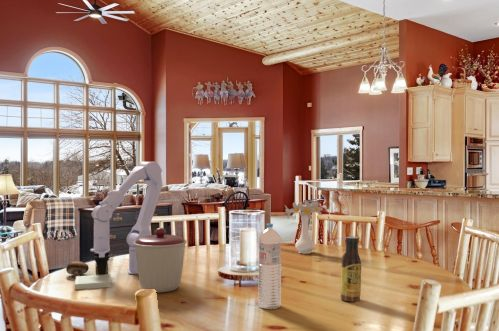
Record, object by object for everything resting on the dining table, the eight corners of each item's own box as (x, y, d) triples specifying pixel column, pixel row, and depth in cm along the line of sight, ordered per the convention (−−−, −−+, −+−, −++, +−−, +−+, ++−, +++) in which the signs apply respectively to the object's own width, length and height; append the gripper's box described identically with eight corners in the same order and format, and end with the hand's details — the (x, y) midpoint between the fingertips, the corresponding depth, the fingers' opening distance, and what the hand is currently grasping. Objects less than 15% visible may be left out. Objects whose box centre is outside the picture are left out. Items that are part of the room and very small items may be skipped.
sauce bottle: (347, 303, 149) (348, 239, 149) (336, 298, 155) (336, 236, 155) (365, 301, 152) (365, 238, 151) (353, 296, 157) (353, 235, 157)
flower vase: (282, 250, 238) (282, 199, 237) (319, 250, 239) (319, 199, 239) (287, 255, 225) (287, 202, 224) (325, 255, 226) (326, 201, 226)
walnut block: (107, 275, 186) (107, 262, 186) (108, 278, 181) (108, 265, 181) (95, 276, 184) (95, 263, 184) (95, 279, 180) (95, 265, 180)
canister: (193, 284, 173) (193, 225, 173) (176, 297, 155) (175, 232, 155) (146, 281, 176) (146, 223, 176) (123, 294, 159) (123, 230, 159)
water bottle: (257, 303, 149) (257, 222, 149) (279, 302, 150) (279, 222, 149) (259, 310, 142) (259, 225, 142) (282, 309, 143) (282, 225, 143)
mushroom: (79, 271, 179) (79, 255, 182) (61, 278, 180) (61, 262, 184) (92, 277, 185) (92, 262, 189) (75, 283, 187) (75, 269, 190)
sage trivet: (110, 278, 180) (110, 274, 180) (111, 286, 169) (111, 281, 169) (76, 281, 176) (76, 276, 176) (74, 289, 165) (74, 284, 165)
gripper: (90, 234, 188) (90, 269, 188) (90, 240, 175) (90, 278, 175) (109, 234, 191) (109, 268, 191) (110, 239, 177) (110, 276, 177)
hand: (101, 273), depth 183 cm, fingers open, 6 cm apart
